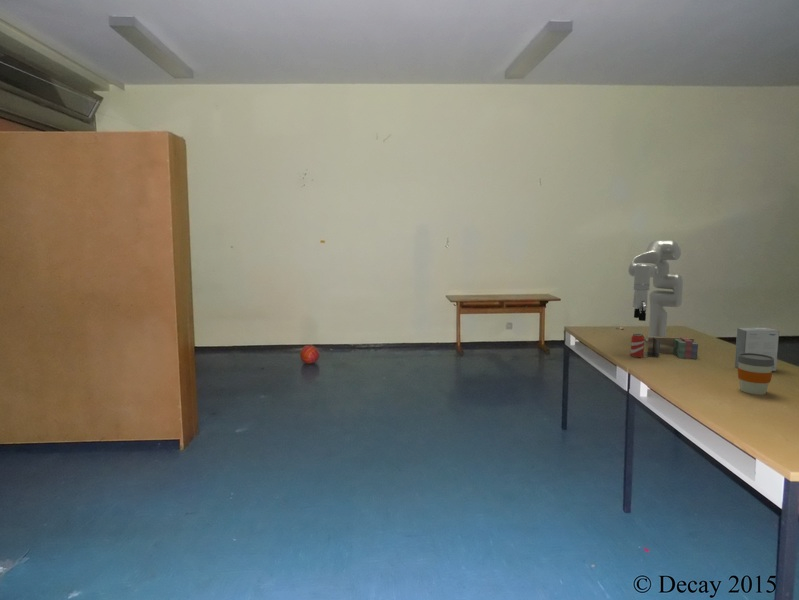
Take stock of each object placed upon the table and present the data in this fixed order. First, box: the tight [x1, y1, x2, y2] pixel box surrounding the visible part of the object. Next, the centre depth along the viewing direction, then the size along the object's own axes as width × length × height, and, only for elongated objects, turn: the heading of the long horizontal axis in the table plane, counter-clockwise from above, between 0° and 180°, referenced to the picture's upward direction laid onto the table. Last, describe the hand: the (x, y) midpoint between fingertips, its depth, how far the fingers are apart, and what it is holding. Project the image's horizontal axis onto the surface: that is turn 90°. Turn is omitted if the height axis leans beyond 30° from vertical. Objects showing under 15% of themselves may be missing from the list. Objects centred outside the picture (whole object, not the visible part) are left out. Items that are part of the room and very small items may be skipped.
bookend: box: [643, 337, 660, 358], centre depth 275 cm, size 10×6×9 cm, turn 168°
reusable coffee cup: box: [737, 353, 774, 396], centre depth 210 cm, size 13×13×15 cm
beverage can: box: [630, 333, 645, 358], centre depth 271 cm, size 6×6×12 cm
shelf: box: [646, 336, 699, 360], centre depth 274 cm, size 11×23×10 cm, turn 78°
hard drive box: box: [734, 327, 780, 372], centre depth 245 cm, size 16×8×20 cm, turn 84°
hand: (639, 319), depth 270 cm, fingers open, 9 cm apart
